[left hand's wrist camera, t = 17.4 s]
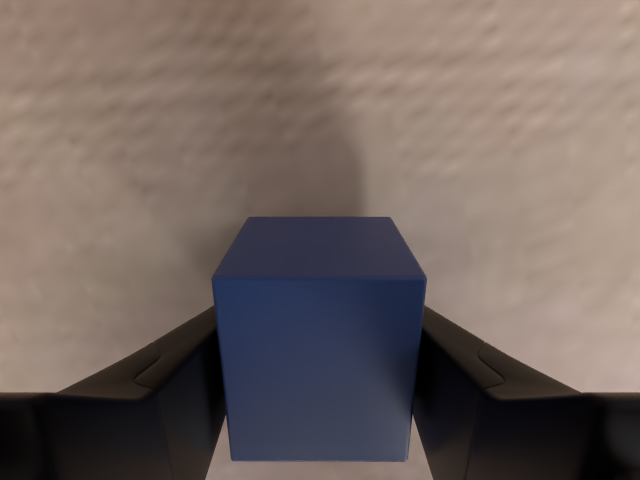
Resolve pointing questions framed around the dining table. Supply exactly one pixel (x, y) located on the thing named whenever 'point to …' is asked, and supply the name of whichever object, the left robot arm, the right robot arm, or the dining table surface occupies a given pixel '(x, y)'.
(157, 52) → the dining table surface
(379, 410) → the block
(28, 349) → the dining table surface
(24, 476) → the left robot arm
